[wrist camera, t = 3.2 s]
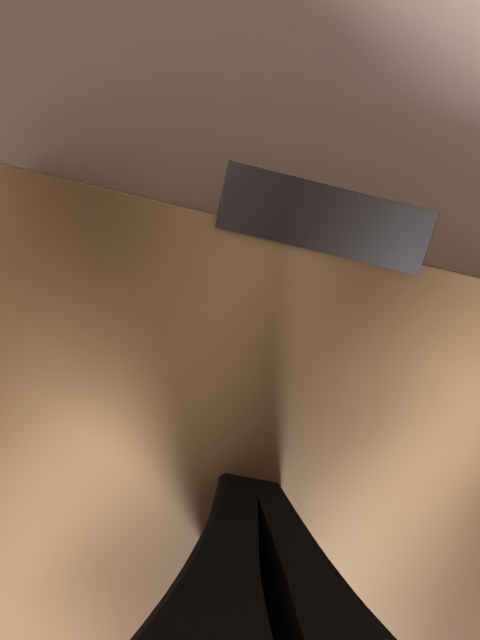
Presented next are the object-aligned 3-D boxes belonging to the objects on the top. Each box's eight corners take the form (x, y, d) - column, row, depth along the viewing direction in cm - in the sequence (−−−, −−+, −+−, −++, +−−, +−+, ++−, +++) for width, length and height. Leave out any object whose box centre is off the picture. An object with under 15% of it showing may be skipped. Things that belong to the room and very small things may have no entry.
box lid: (703, 281, 9) (740, 287, 9) (452, 770, 13) (464, 801, 13) (-109, 79, 8) (-139, 68, 7) (-126, 688, 12) (-147, 718, 11)
